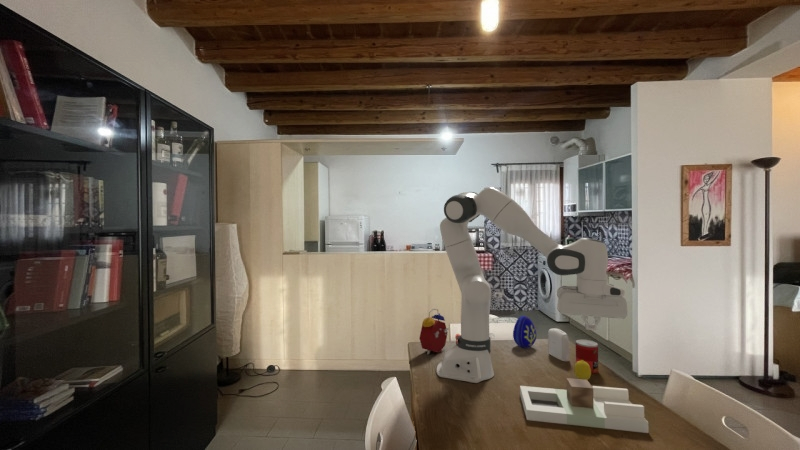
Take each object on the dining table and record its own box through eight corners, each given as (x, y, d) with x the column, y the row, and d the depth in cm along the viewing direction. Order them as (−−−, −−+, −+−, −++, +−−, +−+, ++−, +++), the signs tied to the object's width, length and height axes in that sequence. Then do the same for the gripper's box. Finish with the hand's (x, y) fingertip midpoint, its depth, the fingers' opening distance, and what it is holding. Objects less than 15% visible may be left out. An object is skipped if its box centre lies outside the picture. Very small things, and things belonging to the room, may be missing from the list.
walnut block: (571, 406, 103) (571, 386, 103) (566, 396, 109) (566, 378, 109) (593, 408, 102) (593, 388, 102) (587, 398, 107) (586, 379, 108)
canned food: (598, 375, 131) (597, 346, 132) (575, 371, 136) (574, 343, 136) (598, 368, 138) (598, 341, 138) (576, 364, 142) (576, 338, 142)
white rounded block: (546, 353, 155) (546, 326, 155) (555, 352, 156) (554, 325, 156) (562, 362, 145) (561, 333, 145) (571, 361, 146) (570, 332, 146)
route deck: (526, 419, 101) (526, 399, 101) (520, 394, 117) (519, 376, 117) (648, 433, 94) (648, 411, 94) (623, 404, 110) (623, 385, 110)
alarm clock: (436, 345, 167) (436, 304, 167) (452, 349, 161) (451, 307, 161) (419, 354, 155) (418, 310, 155) (435, 358, 150) (434, 313, 150)
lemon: (593, 385, 123) (593, 363, 123) (576, 384, 124) (576, 362, 124) (588, 379, 128) (587, 357, 128) (572, 377, 129) (572, 356, 130)
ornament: (523, 352, 157) (523, 319, 157) (508, 346, 165) (508, 315, 165) (539, 347, 162) (539, 316, 163) (524, 342, 170) (524, 312, 171)
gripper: (559, 286, 111) (558, 329, 111) (630, 291, 106) (629, 335, 106) (555, 283, 117) (554, 323, 117) (621, 287, 112) (621, 329, 112)
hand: (590, 329), depth 111 cm, fingers closed
